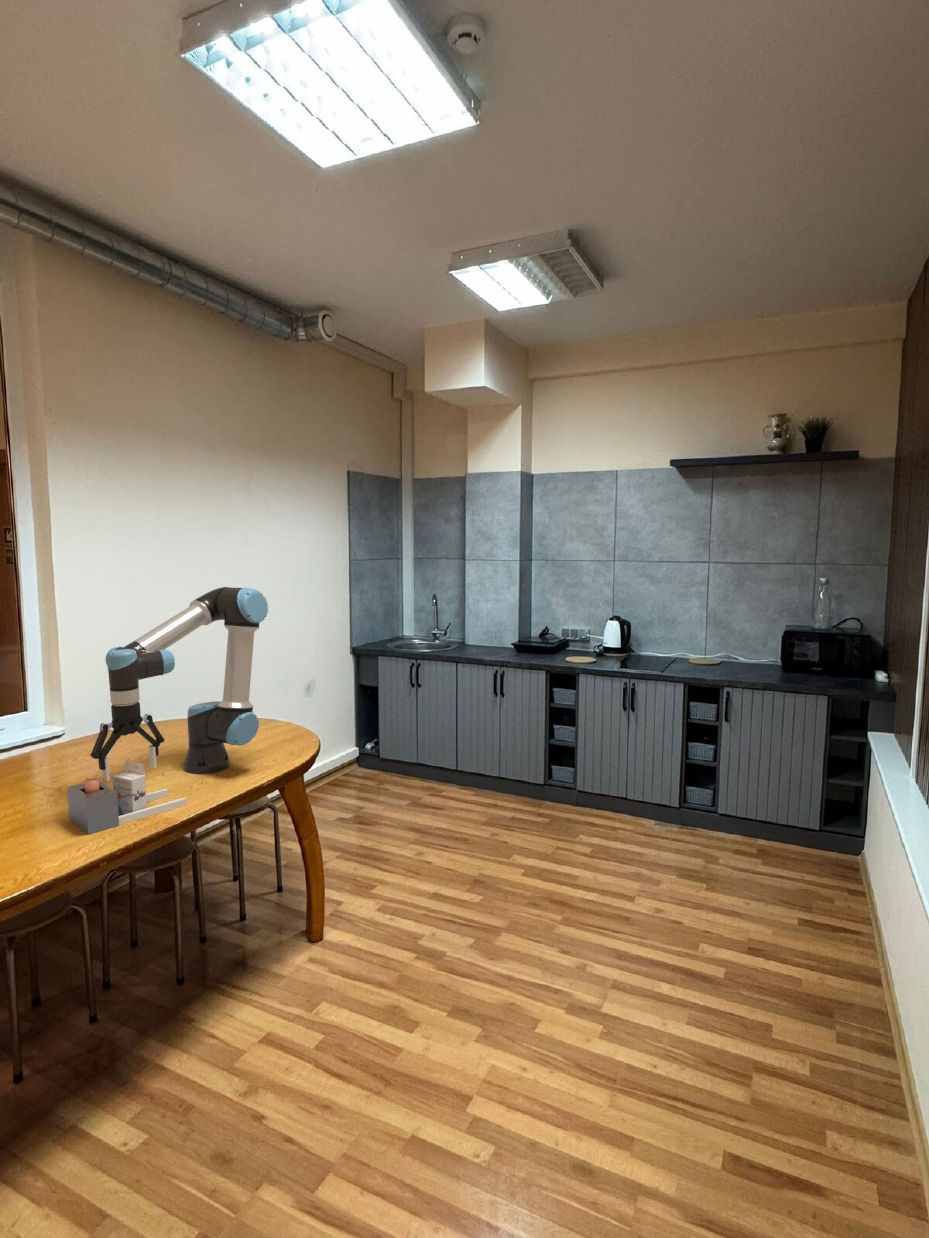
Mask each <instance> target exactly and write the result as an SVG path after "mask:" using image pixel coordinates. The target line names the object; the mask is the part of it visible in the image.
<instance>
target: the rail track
mask: <svg viewBox="0 0 929 1238" xmlns="http://www.w3.org/2000/svg"><path fill="white" fill-rule="evenodd" d="M169 796H170V790H169V788H163V789H159V790H155V791H152V792H148V793H147V792H146V803H148V802H150V801H151V802H152V801H154V800H158V799H162V798H165V797H169ZM187 805H188V804H187V798H185V797H182V798H181V797H180V798H177V799H174V800H171V801H167V802H164V803H159V804H157V805H153V806H150V807H147V808H145V809H142V810H139V811H135V812H132V813H128V814H125V815H119V826H121V825H125V824H127V823H130V822H134V821H136V820H137V821H138V820H140V819H144V818H147V817H151V816H153V815H159V814H161V813H164V812H167V811H171V810H174V809H178V808H182V807H185V806H187Z"/></svg>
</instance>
